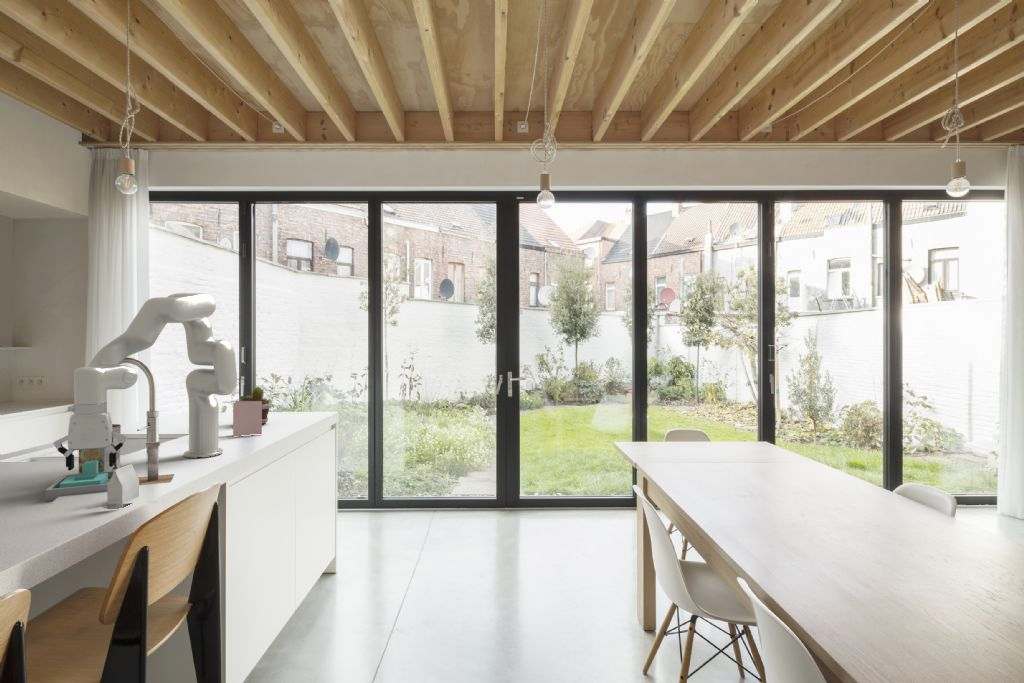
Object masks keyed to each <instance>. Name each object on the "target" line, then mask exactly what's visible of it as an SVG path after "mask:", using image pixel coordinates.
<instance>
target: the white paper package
mask: <svg viewBox="0 0 1024 683" xmlns="http://www.w3.org/2000/svg"><path fill="white" fill-rule="evenodd" d="M138 477H139V476H138V475H137V472H136V471H135V469H134V465H133V463H130V464H129V463H128V464H127V465H124V466H122V467H121V466H120V468H118V469H116V470H114V472H113V475H112V478H110V479H111V480H110V479H109V480H110V482H109V484H108V486H107V491H106V493H107V502H106V505H107V506H106V508H107V510H120V509H119V508H124V507H126V506H128V505H130V504H132V503H133V502H130V501H133V500H134V499H136V498H139V496H140V485H139V478H138ZM128 502H130V503H128ZM132 505H133V504H132ZM130 506H131V505H130ZM128 507H129V506H128ZM126 508H127V507H126ZM124 509H125V508H124Z"/></svg>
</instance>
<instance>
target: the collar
mask: <svg viewBox="0 0 1024 683" xmlns="http://www.w3.org/2000/svg"><path fill="white" fill-rule="evenodd" d="M108 479H109V478H108V473H98V461H86V462H85V463H83V464H82V475H74V476H68V477H67V478H66V479H65V480H64V481H62V482H61V483H60V488H65V487H77V486H88V485H99V484H107V482H108V481H109V480H108Z"/></svg>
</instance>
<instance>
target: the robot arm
mask: <svg viewBox="0 0 1024 683" xmlns="http://www.w3.org/2000/svg"><path fill="white" fill-rule="evenodd" d="M216 306H217V305H216V301H215V299H214V297H213V296H211V295H209V294H208V293H201V292H200V293H198V292H197V293H196V292H195V293H194V292H193V293H191V292H187V293H186V292H185V293H184V292H183V293H173V294H169V295H168V296H166V297H161V296H160V297H152V298H149V299H147V300H146V301H145V302H144V303H143V305H142V306H141V308H140V309H139V310H138V312H137V313H136V315H135V317H134V318H133V320H132V321H131V322H130V324H129V325H128V326H127V329H126V330H125V331H124V332H123V333H122V334H120V335H118V336H117V337H115V338H114V339H113V340H111V341H110V342H109V343H107V344H105V345H104V346H103V347H102V348H101V349H100V350H99V351H97V353H96V354H95V355H94V357H93V358H92V360H91V361H90V362H89V364H88V366H83V367H78V368H76V369H75V370H74V372H73V396H74V397H73V398H74V400H73V401H74V404H73V405H69V406H68V407H67V411H68V412H73V414H72V415H70V417H69V423H68V431H67V432H68V433H67V435H66V436H63V437H61V438H59V439H57V440H55V441H53V445H54V448H55V449H56V450H57V452H59V453H60V454H61V455H63V456H64V457H65V467H66V468H67V470H68V471H72V470H73V469H75V455H74V454H73V453H74V451H79V450H87V449H99V448H107V449H108V450H109V451H110V454H109V466H110V467H113V465H114V463H116V462H117V452H116V451H118V450H119V449H120V450H121V448H122V447H123V446H124V445H125V443H126V441H127V440H128V436H127V435H124V434H121V433H120V434H119V433H116V432H113V428H112V424H113V421H112V417H111V414H110V412H108V408H107V407H108V406H107V405H108V400H107V399H108V397H107V396H108V394H107V393H108V390H127V389H129V388H131V387H133V386H134V385H136V383H137V381H138V376H139V375H138V373H137V370H135V368H133V367H132V366H129V365H125V364H120V363H121V362H122V361H123V360H125V359H126V358H128V357H129V356H132V355H135V354H136V353H139V352H142V351H144V350H148V349H149V348H151V347H152V346H154V344H155V343H156V342H157V340H158V338H159V337H160V335H161V333H162V332H163V330H164V328H165V327H166V325H167V324H182V325H183V328H184V331H185V340H186V350H187V358H188V360H189V362H190V363H191V364H193V365H195V366H203V367H204V366H207V367H208V366H209V367H212V366H213V368H198V369H197V368H196V369H193V370H191V371H190V372H189V373H188V374H187V376H186V378H185V388H186V392H187V396H188V450H186V451H185V452H183V456H184V457H185V458H189V457H190V458H189V459H191V458H192V459H195V458H196V459H197V457H202V458H209V457H210V456H211V457H215V455H216V456H219V455H218V454H220V455H222V454H223V453H224V449H223V448H219V418H220V417H219V413H220V412H219V409H220V408H219V403H218V399H217V398H216V396H229V395H231V394H232V393H234V391H236V388H237V383H238V375H237V374H238V373H237V372H238V371H237V362H236V353H235V349H234V347H233V345H232V344H231V343H230V342H229V341H227V340H225V339H224V340H223V339H214V335H213V327H212V323H211V321H210V320H209V318H210V317H211V316H212V315H213V314H214V313H215V311H216V308H217V307H216ZM113 437H115V438H118V439H120V442H119V444H118V445H117V446H115V445H114V444H113ZM65 442H67V448H68V449H67V448H66V447H64V446H63V443H65ZM222 452H223V453H222ZM221 453H222V454H221Z"/></svg>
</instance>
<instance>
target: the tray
mask: <svg viewBox="0 0 1024 683" xmlns="http://www.w3.org/2000/svg"><path fill="white" fill-rule="evenodd" d="M113 472H114V471H106V472H98V473H108V479H109V480H108V482H107V483H106V484H99V485H88V486H77V487H65V488H60V483H61V482H62V481H64V480H65V479H66V478H67V477H68V476H74V475H82V474H79V473H72V474H64V475H62V476H61V477H59V478H58V479H57V480H56V481H55V482H54V483H52V484H51V485H50V486H48V488H46V489H45V493H44V494H45V495H44V498H45V502H50V501H49V500H54V501H56V500H57V499H58V498H59V497H61V496H71V495H72V496H73V495H82V494H92V493H93V494H94V493H101V492H103V493H104V492H107V486H108V484H109V482H110V480H111V478H112V475H113Z"/></svg>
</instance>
